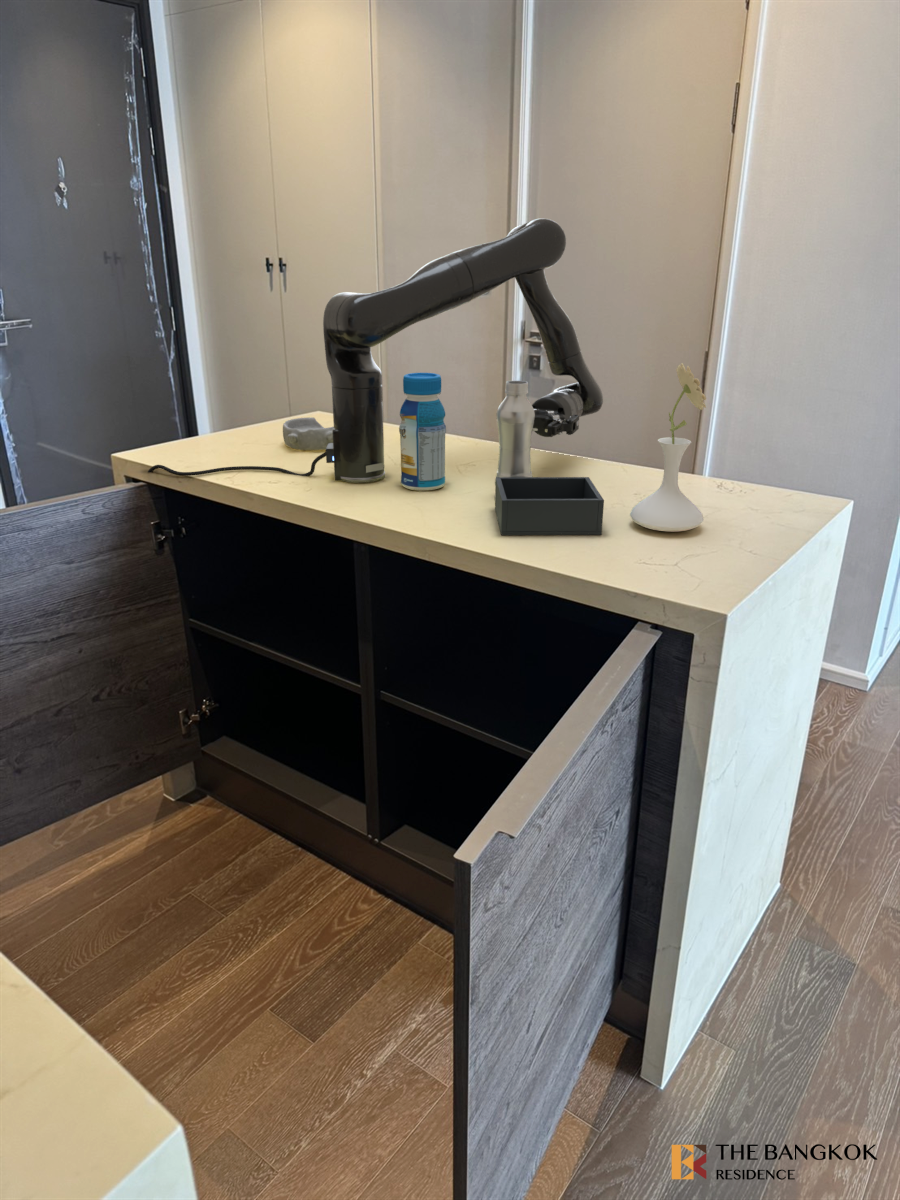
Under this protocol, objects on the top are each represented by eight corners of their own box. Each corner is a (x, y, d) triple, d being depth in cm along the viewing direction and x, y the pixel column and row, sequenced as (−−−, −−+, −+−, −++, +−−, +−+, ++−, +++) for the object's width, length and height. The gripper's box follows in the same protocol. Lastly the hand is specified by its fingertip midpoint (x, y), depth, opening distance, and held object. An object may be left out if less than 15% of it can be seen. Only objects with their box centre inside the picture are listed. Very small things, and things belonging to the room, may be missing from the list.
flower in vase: (701, 541, 131) (722, 372, 121) (625, 534, 134) (640, 369, 124) (702, 516, 142) (722, 360, 133) (632, 510, 145) (646, 357, 136)
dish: (294, 437, 197) (292, 415, 195) (353, 439, 195) (352, 417, 193) (273, 452, 183) (271, 428, 181) (336, 454, 182) (335, 430, 180)
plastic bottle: (533, 502, 149) (538, 385, 141) (494, 502, 149) (497, 385, 142) (531, 492, 155) (536, 379, 147) (493, 492, 155) (496, 379, 148)
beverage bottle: (439, 493, 155) (439, 379, 147) (394, 490, 156) (391, 377, 149) (450, 481, 162) (451, 372, 154) (407, 478, 164) (406, 370, 156)
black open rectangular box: (501, 535, 133) (502, 500, 131) (494, 509, 146) (495, 477, 143) (601, 534, 133) (604, 500, 131) (586, 509, 146) (588, 476, 144)
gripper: (519, 391, 168) (489, 404, 154) (590, 396, 163) (566, 411, 149) (518, 429, 171) (488, 446, 157) (588, 436, 166) (563, 453, 152)
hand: (526, 429), depth 153 cm, fingers open, 8 cm apart
